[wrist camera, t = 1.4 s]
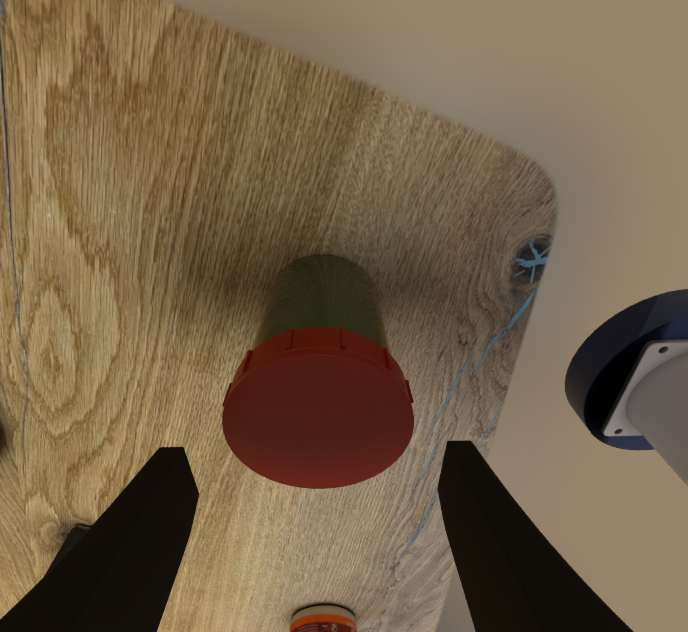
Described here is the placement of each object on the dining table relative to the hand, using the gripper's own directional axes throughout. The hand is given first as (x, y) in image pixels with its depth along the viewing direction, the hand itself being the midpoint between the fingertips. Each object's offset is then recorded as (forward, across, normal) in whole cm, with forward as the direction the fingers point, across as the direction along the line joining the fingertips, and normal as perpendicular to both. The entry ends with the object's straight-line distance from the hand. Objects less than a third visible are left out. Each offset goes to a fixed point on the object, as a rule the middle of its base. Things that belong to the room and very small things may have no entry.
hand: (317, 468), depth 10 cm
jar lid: (+2, 0, 0) cm, 2 cm away
